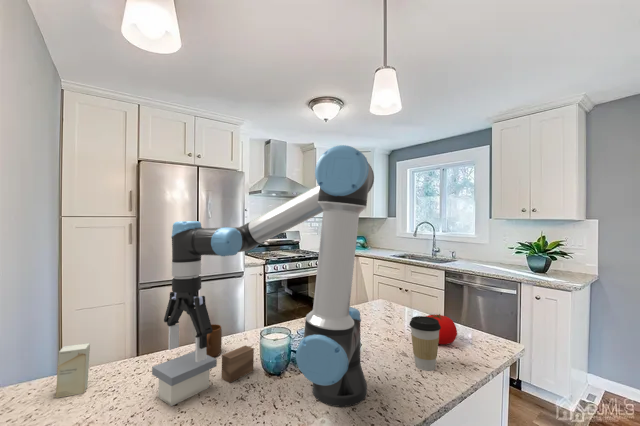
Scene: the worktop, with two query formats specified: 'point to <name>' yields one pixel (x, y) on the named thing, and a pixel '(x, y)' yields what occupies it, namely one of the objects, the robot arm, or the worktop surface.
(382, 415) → the worktop surface
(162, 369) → the tile lid
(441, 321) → the tomato
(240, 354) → the block
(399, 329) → the worktop surface
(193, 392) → the white open box
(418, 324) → the coffee cup
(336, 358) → the robot arm
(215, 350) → the mug
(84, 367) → the skincare box
